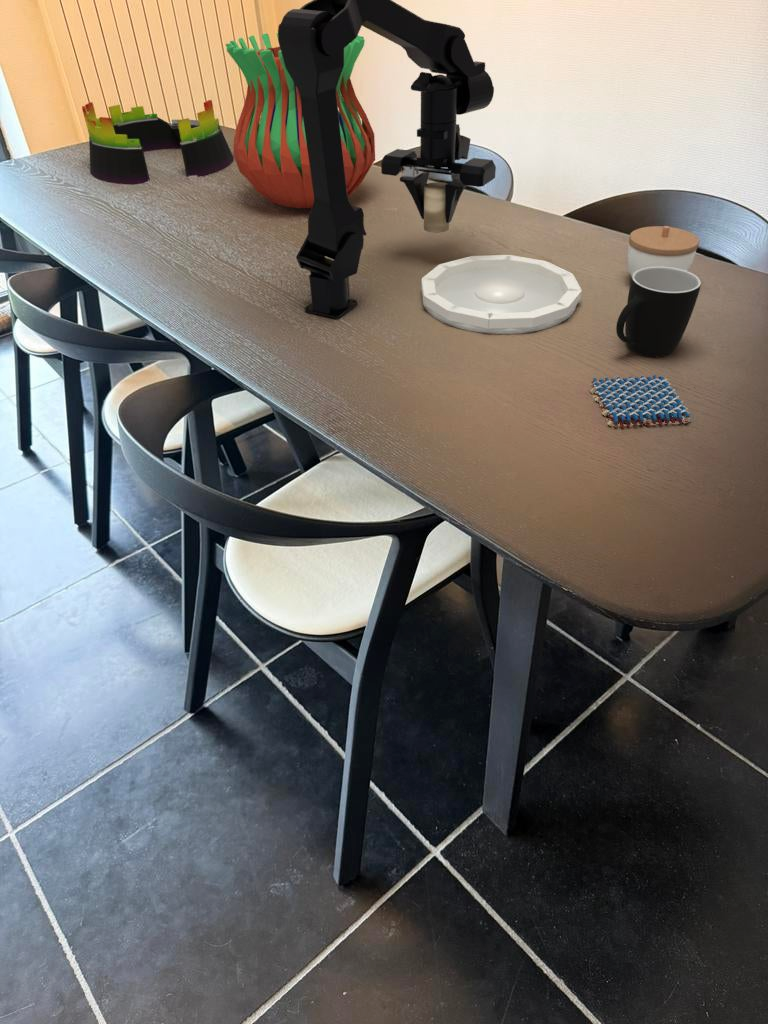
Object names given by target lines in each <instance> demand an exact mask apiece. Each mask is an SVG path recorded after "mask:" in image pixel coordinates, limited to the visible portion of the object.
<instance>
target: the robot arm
mask: <svg viewBox="0 0 768 1024" xmlns="http://www.w3.org/2000/svg"><path fill="white" fill-rule="evenodd" d="M362 27H364V28H366V29H368V30H369V31H372V32H373V33H375V34H377V35H379V36H381V37H382V38H385V39H387V40H388V41H390V42H393V43H394V44H396V45H398V46H400V47H401V48H402V49H403V50H404V51H405V53H406V55H407V57H408V59H410V60H411V61H412V62H413V63H414V64H415V65H416V66H418V68H420V69H425V70H429V71H430V72H431V73H430V72H423V71H421V72H419V74H418V77H417V78H416V79H415V80H414V81H412V84H411V86H410V90H411V91H415V92H420V127H419V128H417V129H416V137H418V138H420V141H419V142H420V146H419V147H420V151H419V152H420V153H419V154H420V155H419V156H418V155H417V154H416V151H414V150H410V149H409V150H407V149H401V148H397V149H396V148H395V150H393V151H390V152H389V153H387V154H385V155H384V156H383V157H382V159H381V162H380V167H381V168H380V169H381V174H382V175H386V176H392V177H393V176H398V175H399V174H400V173H401V176H400V177H399V182H402V183H404V185H405V187H406V188H407V190H408V192H409V194H410V196H411V197H412V199H413V202H414V205H416V208H417V211H418V213H419V216H420V218H421V219H422V220H424V185H426V184H428V180H429V177H430V176H429V175H430V173H433V174H440V175H448V176H450V177H451V178H450V179H451V181H450V182H448V183H447V184H446V185H445V215H446V222H447V223H449V224H450V223H451V222H452V220H453V217H454V214H455V212H456V209H457V206H458V204H459V201H460V198H461V196H462V194H463V193H464V191H465V188H466V187H468V186H469V187H470V186H471V187H478V188H479V187H485V186H486V185H488V183H490V182H491V181H493V180H494V179H495V178H496V169H497V166H496V164H495V163H494V160H493V159H486V158H477V157H472V158H470V160H468V158H469V157H468V156H469V150H470V145H471V138H470V137H467V136H465V135H462V134H461V128H460V124H459V123H458V124H457V116H460V115H461V116H462V115H465V114H468V113H472V112H475V111H480V110H482V109H486V108H487V107H488V106H489V105H490V104H491V102H492V101H493V97H494V92H495V86H494V85H493V84H494V83H493V79H492V78H491V75H490V74H489V73H488V72H487V71H486V62H484V61H478V60H477V61H476V60H474V59H473V55H472V54H471V52H470V51H471V50H470V48H469V46H468V45H467V42H466V39H465V38H466V34H465V32H464V30H463V29H462V28H460V27H458V26H455V25H452V24H451V25H450V24H446V23H442V22H436V21H431V20H426V19H424V18H422V17H421V16H419V15H417V14H415V13H414V12H412V11H410V10H409V9H408V8H405V7H403V6H402V5H400V4H398V3H397V2H395V1H394V0H311V1H309V2H307V3H305V4H304V5H302V6H301V7H300V8H293V9H291V10H288V11H287V12H286V13H285V14H284V15H283V17H282V19H281V21H280V23H279V25H278V27H277V28H278V29H277V33H278V38H277V41H279V42H278V46H279V45H280V49H281V52H282V56H283V60H284V63H285V67H286V69H287V71H288V73H289V74H290V76H291V78H292V80H293V82H294V83H295V85H296V87H297V89H298V91H299V94H300V99H301V106H302V114H303V121H304V128H305V135H306V142H307V150H308V157H309V164H310V171H311V178H312V186H313V193H314V203H313V206H312V208H310V212H309V214H308V217H307V232H308V233H307V236H306V237H305V239H304V241H303V243H302V244H301V246H300V249H299V250H298V252H297V254H296V257H295V259H296V261H297V263H298V266H299V268H300V269H302V270H306V271H309V272H310V273H309V276H308V278H309V291H310V299H311V303H309V304H307V306H306V307H305V306H304V312H306V313H310V314H314V315H319V316H323V317H327V318H332V319H337V320H338V319H339V318H341V317H342V316H344V315H345V314H346V313H348V312H349V311H350V310H351V309H353V308H354V307H355V306H357V305H358V300H355V299H351V298H350V283H349V281H350V280H349V277H352V276H353V275H357V274H358V270H359V264H360V259H361V254H362V250H363V248H364V242H365V241H364V240H365V239H364V236H365V237H366V236H367V232H366V229H365V225H364V223H365V222H364V221H365V219H364V217H365V215H364V211H363V210H364V209H363V208H362V207H359V206H357V205H353V204H352V203H351V202H350V200H349V196H347V189H346V180H345V170H344V161H343V152H342V143H341V133H340V124H339V115H338V110H339V108H338V105H337V96H336V87H337V84H338V81H339V78H340V75H341V73H342V70H343V67H344V48H345V47H346V46H347V45H348V44H349V43H351V42H352V41H353V40H354V39H355V38H356V37H357V35H358V36H359V33H360V31H361V28H362ZM432 73H434V74H436V75H433V74H432ZM462 159H463V160H468V161H465V162H464V163H461V162H456V161H459V160H462Z"/></svg>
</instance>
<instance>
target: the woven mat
mask: <svg viewBox="0 0 768 1024" xmlns="http://www.w3.org/2000/svg"><path fill="white" fill-rule="evenodd" d="M604 379H605V380H604ZM604 379H603V378H601V379H597V377H594V378H593V379H592V381H591V383H590V384H589V386H590V387H587V390H589V391H590V393H591V394H592V396H593V397H594V398H593V397H592V398H593V399H594V401H595V402H596V401H597V402H599V403H598V404H599V405H600V406H603V407H602V409H601V415H602V416H603V415H604V416H605V417H607V416H608V417H607V418H605V419H606V420H608V419H609V420H611V421H607V423H606V425H610V426H612V425H615V426H618V425H619V424H618V423H620V426H621V427H622V428H625V427H624V424H623V423H626V425H627V426H628V427H631V426H630V425H631V424H634V425H637V423H639V424H640V425H642V426H644V425H643V424H646V425H647V426H646V427H649V426H651V425H650V423H653V424H656V421H658V423H659V424H663V422H662V421H665V423H666V424H667V425H670V424H669V421H670V420H671V422H672V423H675V422H676V421H675V420H677V421H678V422H679V423H681V424H683V423H682V420H690V419H691V418H690V417H691V414H690V411H688V410H689V407H686V406H684V405H682V404H684V400H681V399H680V395H678V394H677V392H675V391H676V389H674V388H672V387H671V386H670V385H671V383H670V382H669V381H668V378H665V377H664V376H658V377H657V375H656V374H653V375H652V376H646V378H645V376H644V375H641V376H640V377H634V378H633V376H628V378H627V377H622V378H621V376H617V378H610V379H609V377H605V378H604ZM589 388H590V389H589ZM660 388H661V389H660ZM593 394H595V395H593ZM672 396H673V397H672ZM595 397H596V398H595ZM597 402H596V403H597ZM600 406H599V407H600ZM672 406H673V407H672ZM602 410H605V411H603V412H602ZM608 414H609V415H608ZM604 416H603V417H604ZM672 416H673V417H672ZM685 422H688V421H685ZM610 426H609V427H610ZM621 427H620V428H621Z"/></svg>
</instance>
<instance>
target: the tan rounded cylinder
mask: <svg viewBox="0 0 768 1024" xmlns="http://www.w3.org/2000/svg"><path fill="white" fill-rule="evenodd" d="M446 184H448V183H446V182H440V181H437V182H429V183H428V182H427V184H426V185H424V219H423V230H424V231H425V232H427V233H432V234H435V233H436V234H439V233H440V234H441V233H444V232H447V231H448V230H449V227H450V222H449V223H447V222H446V215H445V185H446Z"/></svg>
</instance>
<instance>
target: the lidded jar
mask: <svg viewBox="0 0 768 1024" xmlns="http://www.w3.org/2000/svg"><path fill="white" fill-rule="evenodd" d="M699 244H700V239H699V237H698V236H697V235H696V234H694V233H692V232H690V231H688V230H685V229H682V228H678V227H672V226H669V225H664V226H660V225H659V226H658V225H656V226H655V225H653V226H644V227H640V228H637V229H635V230H633V231H631V232H630V234H629V237H628V246H627V251H626V253H627V254H626V266H627V270H628V273H629V275H630V277H631V278H632V275H633V274H634V273H635V272H636V271H637V270H640V269H642V268H647V267H656V266H662V267H673V268H678V269H682V270H685V271H688V272H690V271H689V270H690V268H691V267H692V265H693V262H694V260H695V257H696V253H697V250H698V247H699Z"/></svg>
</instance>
